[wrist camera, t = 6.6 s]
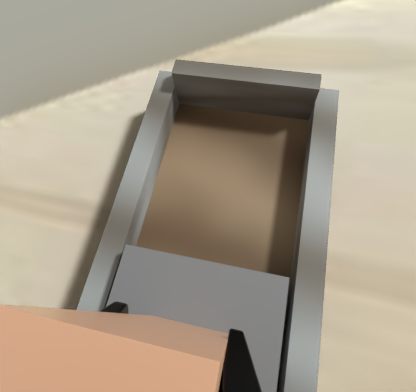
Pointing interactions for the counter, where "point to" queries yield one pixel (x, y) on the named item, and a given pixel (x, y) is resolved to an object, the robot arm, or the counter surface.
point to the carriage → (148, 330)
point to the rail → (233, 189)
